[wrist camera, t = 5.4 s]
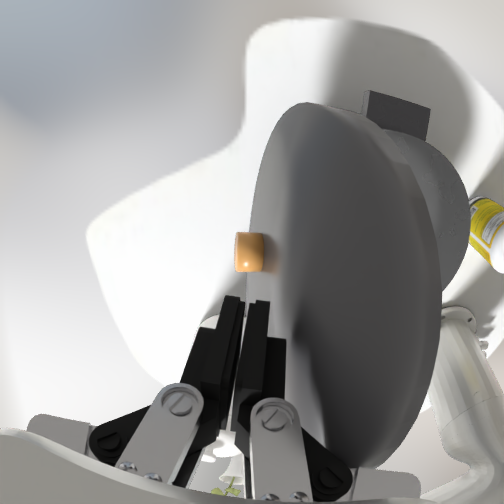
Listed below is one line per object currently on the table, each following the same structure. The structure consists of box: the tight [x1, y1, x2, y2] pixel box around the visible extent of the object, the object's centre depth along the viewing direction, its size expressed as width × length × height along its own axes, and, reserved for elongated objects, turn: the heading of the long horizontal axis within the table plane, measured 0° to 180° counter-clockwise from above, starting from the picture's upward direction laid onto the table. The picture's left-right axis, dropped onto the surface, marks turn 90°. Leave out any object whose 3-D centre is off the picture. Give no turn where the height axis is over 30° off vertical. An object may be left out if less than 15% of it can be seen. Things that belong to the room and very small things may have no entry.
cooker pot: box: [361, 91, 471, 291], centre depth 25 cm, size 16×21×11 cm
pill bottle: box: [468, 197, 504, 274], centre depth 24 cm, size 6×6×11 cm
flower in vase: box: [211, 453, 244, 496], centre depth 40 cm, size 13×11×25 cm
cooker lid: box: [234, 102, 442, 469], centre depth 13 cm, size 17×17×3 cm
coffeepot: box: [190, 315, 247, 462], centre depth 33 cm, size 11×25×19 cm, turn 179°
